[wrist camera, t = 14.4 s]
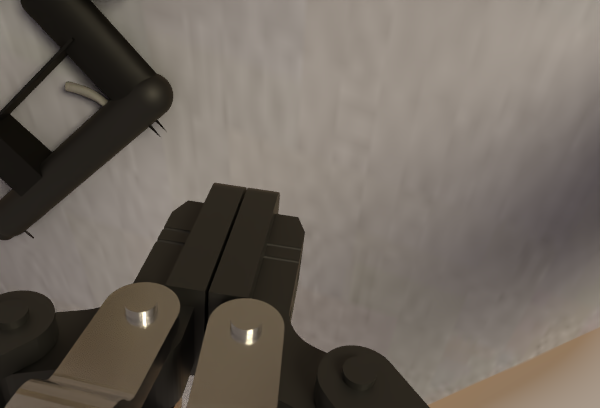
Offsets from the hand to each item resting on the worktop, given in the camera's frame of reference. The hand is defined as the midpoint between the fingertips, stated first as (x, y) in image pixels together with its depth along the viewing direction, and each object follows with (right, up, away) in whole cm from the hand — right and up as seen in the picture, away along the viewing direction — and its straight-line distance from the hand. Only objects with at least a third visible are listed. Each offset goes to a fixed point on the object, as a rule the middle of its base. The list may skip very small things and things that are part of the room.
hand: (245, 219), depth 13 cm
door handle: (-18, +8, +28) cm, 35 cm away
